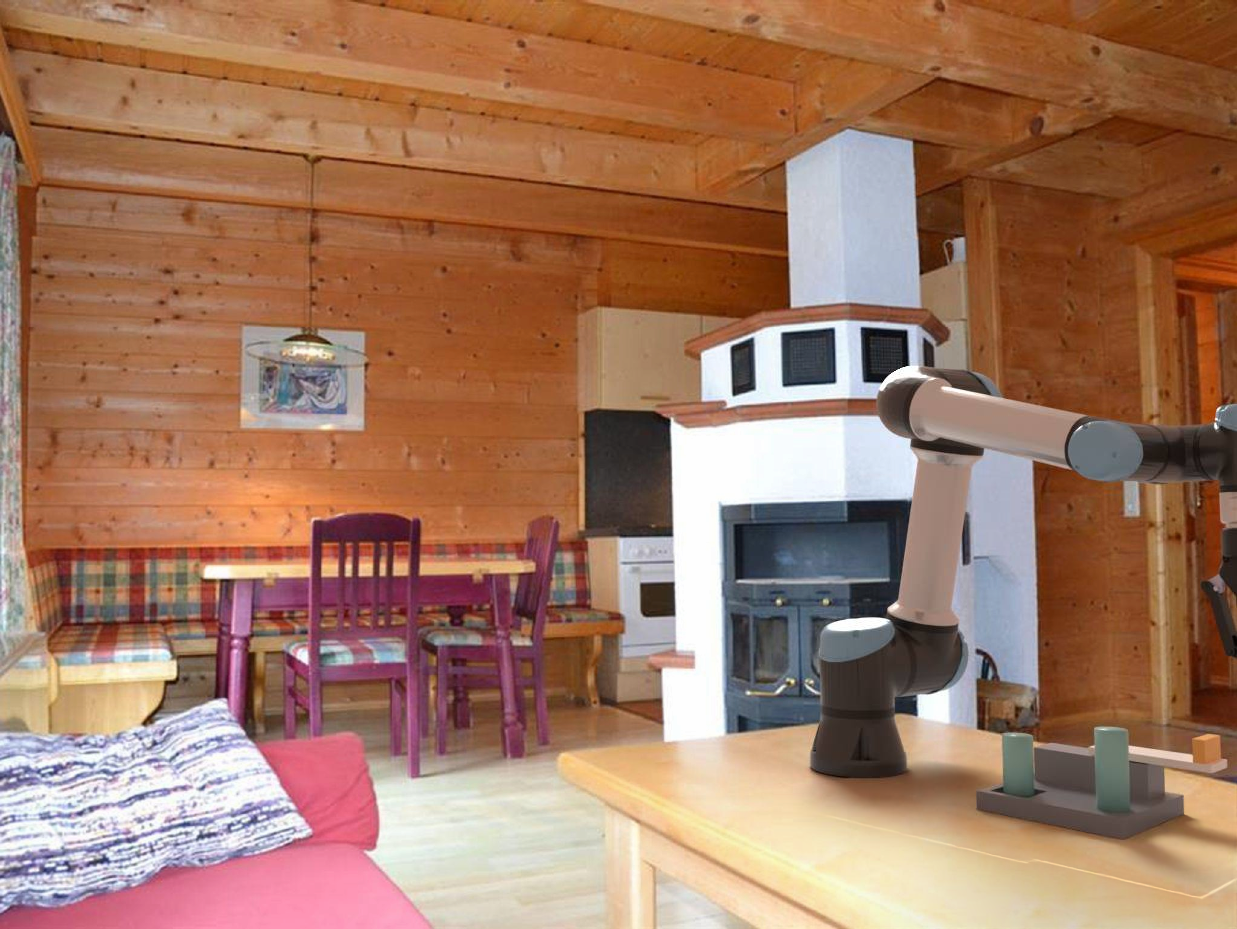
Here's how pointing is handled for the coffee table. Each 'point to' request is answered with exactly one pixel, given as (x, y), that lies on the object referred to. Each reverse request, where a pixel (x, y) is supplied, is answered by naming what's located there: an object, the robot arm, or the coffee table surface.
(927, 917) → the coffee table surface
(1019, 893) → the coffee table surface
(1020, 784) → the peg
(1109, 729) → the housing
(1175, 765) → the lid
